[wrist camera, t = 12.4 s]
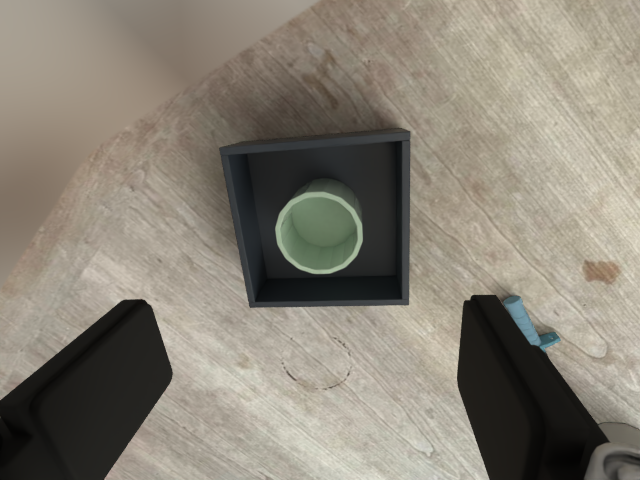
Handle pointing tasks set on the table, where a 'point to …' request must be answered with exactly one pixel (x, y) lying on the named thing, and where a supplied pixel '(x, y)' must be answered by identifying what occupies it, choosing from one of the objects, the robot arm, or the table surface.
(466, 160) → the table surface
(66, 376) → the robot arm
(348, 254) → the green tumbler
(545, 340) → the knife
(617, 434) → the cup
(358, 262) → the dish tub
